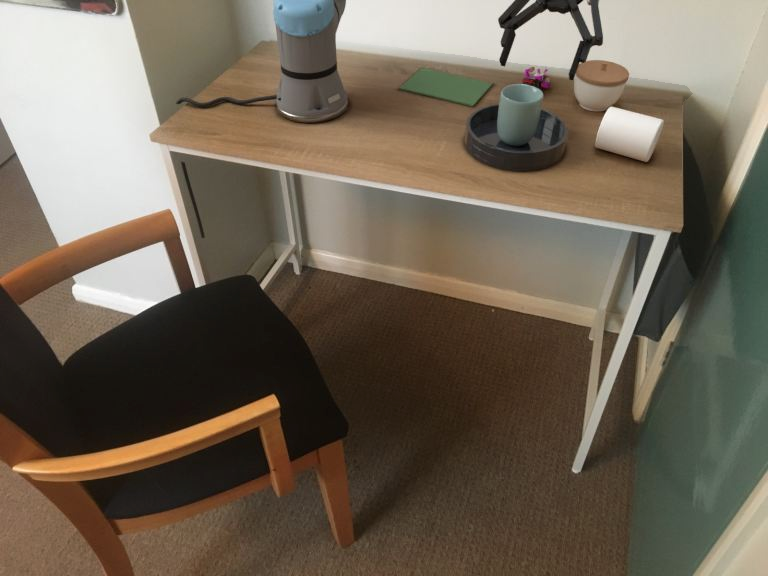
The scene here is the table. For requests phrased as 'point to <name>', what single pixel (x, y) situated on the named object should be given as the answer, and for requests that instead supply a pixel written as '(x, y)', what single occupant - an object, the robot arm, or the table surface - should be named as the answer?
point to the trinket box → (599, 84)
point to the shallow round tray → (527, 157)
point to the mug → (629, 133)
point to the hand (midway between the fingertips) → (535, 70)
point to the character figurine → (536, 78)
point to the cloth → (446, 86)
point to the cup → (518, 113)
